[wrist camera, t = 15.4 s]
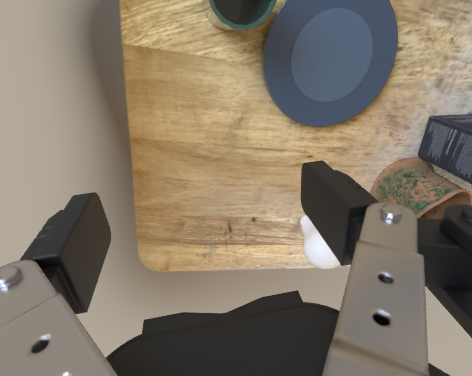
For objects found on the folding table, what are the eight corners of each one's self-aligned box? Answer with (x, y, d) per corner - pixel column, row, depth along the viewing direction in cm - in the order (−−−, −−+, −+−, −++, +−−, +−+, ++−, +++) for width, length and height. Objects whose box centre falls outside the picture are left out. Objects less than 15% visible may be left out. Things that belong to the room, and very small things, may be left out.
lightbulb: (283, 212, 49) (307, 256, 40) (316, 197, 49) (349, 237, 39) (294, 238, 52) (319, 284, 43) (325, 223, 52) (358, 267, 42)
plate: (238, 92, 39) (239, 94, 38) (308, -61, 32) (313, -64, 31) (341, 142, 45) (345, 145, 44) (419, 21, 38) (426, 21, 37)
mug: (391, 246, 57) (438, 294, 47) (361, 182, 49) (409, 223, 38) (446, 215, 56) (507, 257, 45) (424, 143, 47) (493, 175, 37)
